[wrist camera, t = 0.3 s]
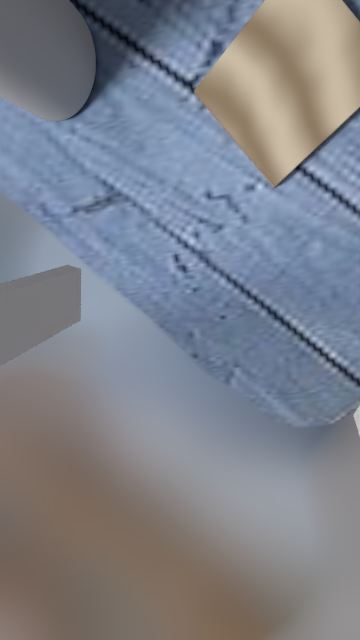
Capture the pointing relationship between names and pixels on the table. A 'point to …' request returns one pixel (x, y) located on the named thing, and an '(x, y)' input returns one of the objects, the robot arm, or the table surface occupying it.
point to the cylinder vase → (45, 57)
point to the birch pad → (286, 82)
